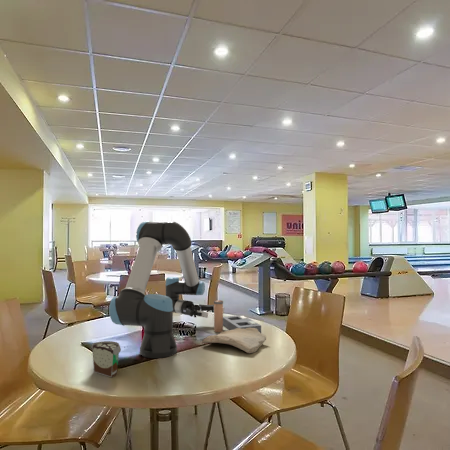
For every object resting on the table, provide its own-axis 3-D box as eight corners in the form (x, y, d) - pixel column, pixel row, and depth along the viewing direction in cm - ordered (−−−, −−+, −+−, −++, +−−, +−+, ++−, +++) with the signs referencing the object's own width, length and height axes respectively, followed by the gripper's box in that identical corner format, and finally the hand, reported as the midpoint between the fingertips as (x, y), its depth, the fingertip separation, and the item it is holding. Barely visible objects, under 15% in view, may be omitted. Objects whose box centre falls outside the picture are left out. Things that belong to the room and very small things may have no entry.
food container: (128, 372, 129) (128, 344, 129) (114, 378, 124) (114, 348, 124) (105, 365, 136) (105, 338, 136) (91, 371, 130) (91, 343, 131)
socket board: (261, 333, 178) (261, 324, 178) (238, 336, 174) (238, 327, 174) (242, 322, 200) (242, 314, 201) (221, 324, 196) (221, 316, 196)
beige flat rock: (223, 337, 175) (199, 345, 158) (224, 322, 176) (201, 327, 158) (269, 347, 163) (249, 356, 145) (270, 330, 163) (251, 337, 146)
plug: (224, 331, 182) (224, 301, 182) (215, 332, 180) (215, 302, 180) (221, 329, 186) (221, 300, 186) (212, 330, 184) (212, 300, 185)
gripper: (199, 310, 208) (230, 315, 195) (168, 318, 188) (199, 324, 175) (199, 297, 208) (230, 301, 195) (168, 304, 188) (199, 309, 175)
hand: (215, 312), depth 185 cm, fingers open, 13 cm apart
